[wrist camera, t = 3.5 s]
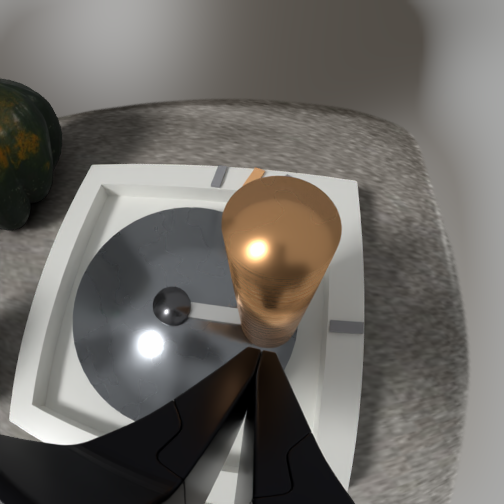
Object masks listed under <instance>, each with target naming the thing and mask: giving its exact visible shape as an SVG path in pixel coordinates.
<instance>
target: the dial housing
mask: <svg viewBox="0 0 504 504" xmlns="http://www.w3.org/2000/svg"><path fill="white" fill-rule="evenodd" d="M268 176H289V177H295V178H299V179H302V180H305V181H307V182H309V183H311V184H313V185H315V186H316V187H318V188H319V189H321V190H322V191H323V192H324V193H325V194H326V195H327V196H328V197H329V198H330V199H331V200H332V202H333V203H334V205H335V206H336V208H337V210H338V212H339V215H340V219H341V225H342V234H341V239H340V242H339V245H338V248H337V250H336V252H335V254H334V256H333V258H332V260H331V262H330V264H329V266H328V268H327V270H326V272H325V274H324V276H323V278H322V280H321V282H320V284H319V286H318V288H317V290H316V292H315V294H314V296H313V298H312V300H311V302H310V304H309V306H308V308H307V310H306V312H305V314H304V315H303V317H302V319H301V321H300V323H299V325H298V330H297V336H296V341H295V345H294V348H293V351H292V354H291V357H290V359H289V361H288V363H287V366H286V368H285V370H284V371H285V374H286V376H287V378H288V380H289V383H290V385H291V387H292V389H293V392H294V394H295V396H296V398H297V400H298V403H299V405H300V407H301V409H302V411H303V414H304V416H305V418H306V420H307V422H308V425H309V427H310V429H311V433H313V435H314V437H315V440H316V442H317V444H318V446H319V448H320V450H321V452H322V454H323V456H324V458H325V459H326V461H327V463H328V464H329V466H330V467H331V469H332V471H333V472H334V474H335V475H336V477H337V478H338V480H339V481H340V483H341V484H342V486H343V487H344V489H345V490H346V491H348V486H349V481H350V475H351V470H352V463H353V457H354V450H355V443H356V436H357V428H358V419H359V409H360V399H361V386H362V371H363V351H364V266H363V245H362V230H361V217H360V206H359V196H358V186H357V181H353V180H347V179H340V178H333V177H325V176H317V175H309V174H301V173H292V172H282V171H272V170H262V169H259V168H256V167H255V169H249V168H236V167H227V166H221V165H218V166H201V165H172V164H104V165H92V166H91V168H90V169H89V171H88V173H87V175H86V177H85V178H84V180H83V182H82V184H81V186H80V188H79V190H78V192H77V194H76V196H75V198H74V200H73V202H72V204H71V206H70V208H69V210H68V212H67V214H66V216H65V218H64V221H63V223H62V225H61V227H60V230H59V232H58V234H57V237H56V239H55V241H54V244H53V246H52V249H51V251H50V254H49V256H48V259H47V261H46V264H45V267H44V269H43V272H42V275H41V278H40V281H39V284H38V287H37V290H36V293H35V296H34V299H33V302H32V306H31V309H30V312H29V316H28V320H27V323H26V327H25V331H24V335H23V339H22V343H21V348H20V352H19V357H18V362H17V367H16V373H15V379H14V385H13V392H12V399H11V407H10V417H9V420H10V421H11V422H12V423H14V424H15V425H17V426H18V427H20V428H21V429H23V430H25V431H26V432H28V433H29V434H31V435H33V436H34V437H36V438H38V439H39V440H41V441H43V442H44V443H51V444H59V445H73V444H79V443H83V442H87V441H90V440H92V439H95V438H97V437H100V436H102V435H105V434H107V433H110V432H112V431H114V430H117V429H119V428H121V427H124V426H126V425H128V424H130V423H133V422H135V421H134V420H132V419H130V418H128V417H126V416H124V415H122V414H121V413H120V412H118V411H117V410H116V409H114V408H113V407H112V406H110V405H109V404H108V403H107V402H106V401H105V400H104V399H103V398H102V397H101V396H100V395H99V394H98V392H97V391H96V390H95V389H94V387H93V386H92V385H91V383H90V382H89V380H88V378H87V376H86V375H85V373H84V371H83V369H82V366H81V364H80V362H79V359H78V356H77V352H76V348H75V344H74V338H73V308H74V302H75V298H76V294H77V290H78V287H79V284H80V282H81V279H82V277H83V275H84V273H85V271H86V269H87V267H88V265H89V264H90V262H91V261H92V259H93V258H94V256H95V255H96V253H97V252H98V251H99V250H100V249H101V248H102V246H103V245H104V244H105V243H106V242H107V241H108V240H109V239H110V238H111V237H113V236H114V235H115V234H116V233H117V232H119V231H120V230H121V229H123V228H124V227H126V226H127V225H129V224H131V223H132V222H134V221H136V220H138V219H140V218H142V217H145V216H147V215H150V214H153V213H156V212H159V211H163V210H168V209H173V208H183V207H199V208H207V209H213V210H217V211H221V212H223V211H224V208H225V206H226V204H227V202H228V201H229V199H230V198H231V196H232V195H233V194H234V193H235V192H236V191H237V190H238V189H240V188H241V187H242V186H244V185H245V184H247V183H249V182H251V181H254V180H256V179H259V178H263V177H268ZM246 413H247V412H246ZM245 417H246V415H245ZM244 422H245V418H244V421H243V423H242V426H241V428H240V430H239V432H238V435H237V437H236V439H235V441H234V444H233V446H232V448H231V450H230V452H229V454H228V457H227V459H226V461H225V463H224V465H223V467H222V469H221V471H220V473H219V476H218V478H217V480H216V482H215V484H214V486H213V488H212V490H211V492H210V494H209V496H208V498H207V500H206V502H208V503H214V504H234V500H235V493H236V485H237V477H238V469H239V461H240V454H241V446H242V437H243V429H244Z"/></svg>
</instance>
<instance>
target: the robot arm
mask: <svg viewBox="0 0 504 504" xmlns="http://www.w3.org/2000/svg"><path fill="white" fill-rule="evenodd" d="M246 412H247V413H246ZM245 415H246V417H245ZM244 418H245V422H244V429H243V437H242V446H241V454H240V461H239V469H238V477H237V485H236V493H235V500H234V504H355V503H354V501H353V500H352V499H351V497H350V496H349V494H348V493H347V491H346V490H345V489H344V487H343V486H342V484H341V483H340V481H339V480H338V478H337V477H336V475H335V474H334V472H333V471H332V469H331V467H330V466H329V464H328V463H327V461H326V459H325V458H324V456H323V454H322V452H321V450H320V448H319V446H318V444H317V442H316V440H315V437H314V435H313V433H311V429H310V427H309V425H308V422H307V420H306V418H305V416H304V414H303V411H302V409H301V407H300V405H299V403H298V400H297V398H296V396H295V394H294V392H293V389H292V387H291V385H290V383H289V380H288V378H287V376H286V374H285V371H284V369H283V367H282V365H281V362H280V360H279V358H278V356H277V354H276V353H275V352H271V351H266V350H263V351H262V352H261V350H260V349H257V348H253V347H246V348H245V349H244V350H242V351H241V352H240V353H238V354H237V355H236V356H234V357H233V358H232V359H230V360H229V361H228V362H226V363H225V364H223V365H222V366H221V367H219V368H218V369H216V370H215V371H214V372H212V373H211V374H209V375H208V376H207V377H205V378H204V379H202V380H201V381H199V382H198V383H197V384H195V385H194V386H192V387H191V388H189V389H188V390H186V391H185V392H183V393H182V394H180V395H179V396H177V397H176V398H174V401H173V400H171V401H170V402H168V403H167V404H165V405H164V406H162V407H160V408H159V409H157V410H155V411H154V412H152V413H150V414H149V415H147V416H145V417H143V418H141V419H139V420H137V421H135V422H133V423H130V424H128V425H126V426H124V427H121V428H119V429H117V430H114V431H112V432H110V433H107V434H105V435H102V436H100V437H97V438H95V439H92V440H90V441H87V442H83V443H79V444H73V445H59V444H51V443H44V442H37V441H31V440H25V439H19V438H14V437H9V436H5V435H0V504H205V502H206V500H207V498H208V496H209V494H210V492H211V490H212V488H213V486H214V484H215V482H216V480H217V478H218V476H219V473H220V471H221V469H222V467H223V465H224V463H225V461H226V459H227V457H228V454H229V452H230V450H231V448H232V446H233V444H234V441H235V439H236V437H237V435H238V432H239V430H240V428H241V426H242V423H243V421H244Z"/></svg>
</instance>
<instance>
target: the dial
mask: <svg viewBox="0 0 504 504" xmlns="http://www.w3.org/2000/svg"><path fill="white" fill-rule="evenodd" d="M341 234H342V225H341V219H340V215H339V212H338V210H337V208H336V206H335V205H334V203H333V202H332V200H331V199H330V198H329V197H328V196H327V195H326V194H325V193H324V192H323V191H322V190H321V189H319V188H318V187H316V186H315V185H313V184H311V183H309V182H307V181H305V180H302V179H299V178H295V177H289V176H268V177H263V178H259V179H256V180H254V181H251V182H249V183H247V184H245V185H244V186H242V187H241V188H240V189H238V190H237V191H236V192H235V193H234V194H233V195H232V196H231V198H230V199H229V201H228V202H227V204H226V206H225V208H224V211H223V212H221V211H217V210H213V209H207V208H199V207H183V208H173V209H168V210H163V211H159V212H156V213H153V214H150V215H147V216H145V217H142V218H140V219H138V220H136V221H134V222H132V223H131V224H129V225H127V226H126V227H124V228H123V229H121V230H120V231H119V232H117V233H116V234H115V235H114V236H113V237H111V238H110V239H109V240H108V241H107V242H106V243H105V244H104V245H103V246H102V248H101V249H100V250H99V251H98V252H97V253H96V255H95V256H94V258H93V259H92V261H91V262H90V264H89V265H88V267H87V269H86V271H85V273H84V275H83V277H82V279H81V282H80V284H79V287H78V290H77V294H76V298H75V302H74V308H73V338H74V344H75V348H76V352H77V356H78V359H79V362H80V364H81V366H82V369H83V371H84V373H85V375H86V376H87V378H88V380H89V382H90V383H91V385H92V386H93V387H94V389H95V390H96V391H97V392H98V394H99V395H100V396H101V397H102V398H103V399H104V400H105V401H106V402H107V403H108V404H109V405H110V406H112V407H113V408H114V409H116V410H117V411H118V412H120V413H121V414H122V415H124V416H126V417H128V418H130V419H132V420H134V421H137V420H139V419H141V418H143V417H145V416H147V415H149V414H150V413H152V412H154V411H155V410H157V409H159V408H160V407H162V406H164V405H165V404H167V403H168V402H170V401H171V400H173V401H174V398H176V397H177V396H179V395H180V394H182V393H183V392H185V391H186V390H188V389H189V388H191V387H192V386H194V385H195V384H197V383H198V382H199V381H201V380H202V379H204V378H205V377H207V376H208V375H209V374H211V373H212V372H214V371H215V370H216V369H218V368H219V367H221V366H222V365H223V364H225V363H226V362H228V361H229V360H230V359H232V358H233V357H234V356H236V355H237V354H238V353H240V352H241V351H242V350H244V349H245V348H246V347H253V348H257V349H260V350H261V352H262V351H263V350H266V351H271V352H275V353H276V354H277V356H278V358H279V360H280V362H281V365H282V367H283V369H284V370H285V368H286V366H287V363H288V361H289V359H290V357H291V354H292V351H293V348H294V345H295V341H296V336H297V330H298V325H299V323H300V321H301V319H302V317H303V315H304V314H305V312H306V310H307V308H308V306H309V304H310V302H311V300H312V298H313V296H314V294H315V292H316V290H317V288H318V286H319V284H320V282H321V280H322V278H323V276H324V274H325V272H326V270H327V268H328V266H329V264H330V262H331V260H332V258H333V256H334V254H335V252H336V250H337V248H338V245H339V242H340V239H341Z"/></svg>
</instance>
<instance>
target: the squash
mask: <svg viewBox="0 0 504 504" xmlns="http://www.w3.org/2000/svg"><path fill="white" fill-rule="evenodd" d="M61 147H62V132H61V127H60V124H59V121H58V118H57V116H56V114H55V112H54V110H53V108H52V107H51V105H50V104H49V102H48V101H47V100H46V99H44V97H42V96H41V95H40V94H39V93H37V92H35V91H34V90H32V89H31V88H29V87H27V86H25V85H23V84H21V83H17V82H14V81H11V80H6V79H0V228H1V229H5V230H10V231H12V230H15V229H18V228H20V227H22V226H23V225H24V224H25V223H26V221H27V219H28V217H29V213H30V208H31V206H30V203H35V202H39V201H40V200H42V199H43V198H44V197H45V196H46V195H47V194H48V192H49V189H50V187H51V184H52V177H53V169H54V167H55V165H56V163H57V161H58V159H59V156H60V153H61Z"/></svg>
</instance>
